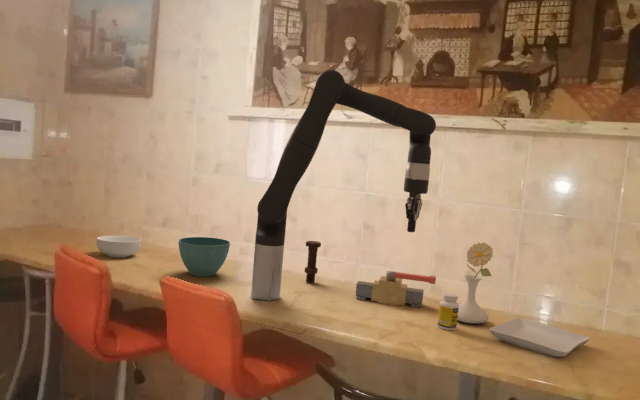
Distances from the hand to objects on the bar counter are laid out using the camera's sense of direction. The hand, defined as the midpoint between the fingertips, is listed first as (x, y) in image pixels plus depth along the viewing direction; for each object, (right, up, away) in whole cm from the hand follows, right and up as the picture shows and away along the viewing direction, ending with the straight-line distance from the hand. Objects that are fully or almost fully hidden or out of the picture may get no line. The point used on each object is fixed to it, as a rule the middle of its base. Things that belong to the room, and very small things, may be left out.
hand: (410, 231), depth 179 cm
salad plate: (+32, -30, -23) cm, 49 cm away
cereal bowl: (-109, -12, +44) cm, 118 cm away
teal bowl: (-72, -17, +25) cm, 78 cm away
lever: (+1, -17, +7) cm, 18 cm away
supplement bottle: (+8, -27, -16) cm, 32 cm away
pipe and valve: (-6, -24, +9) cm, 26 cm away
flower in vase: (+17, -27, -8) cm, 33 cm away
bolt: (-33, -20, +27) cm, 47 cm away
